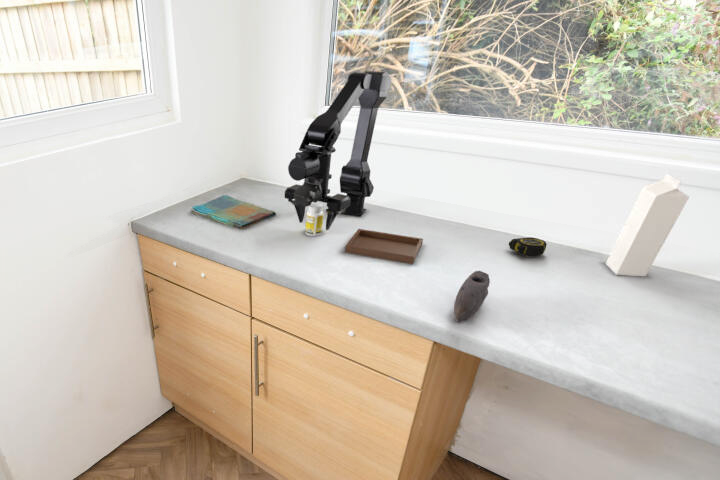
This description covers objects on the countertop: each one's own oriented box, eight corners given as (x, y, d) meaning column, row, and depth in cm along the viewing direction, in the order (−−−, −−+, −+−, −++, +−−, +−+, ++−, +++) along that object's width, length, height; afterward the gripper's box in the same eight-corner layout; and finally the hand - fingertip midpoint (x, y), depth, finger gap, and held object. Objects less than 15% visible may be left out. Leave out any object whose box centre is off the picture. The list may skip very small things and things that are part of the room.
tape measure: (531, 247, 125) (536, 234, 123) (548, 258, 119) (554, 245, 117) (506, 249, 125) (510, 236, 123) (522, 260, 119) (527, 247, 117)
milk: (615, 275, 111) (663, 181, 98) (605, 263, 116) (649, 172, 103) (646, 276, 110) (698, 181, 97) (634, 265, 115) (682, 173, 102)
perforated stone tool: (468, 331, 95) (478, 302, 91) (441, 323, 98) (449, 294, 94) (487, 300, 104) (497, 272, 100) (462, 294, 107) (471, 266, 103)
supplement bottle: (320, 229, 141) (323, 202, 136) (322, 236, 137) (325, 208, 133) (304, 230, 142) (306, 202, 137) (305, 236, 138) (307, 208, 133)
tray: (357, 235, 137) (358, 228, 135) (421, 245, 129) (423, 238, 128) (344, 252, 128) (345, 245, 127) (412, 264, 120) (414, 256, 119)
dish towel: (226, 200, 167) (225, 193, 165) (277, 215, 152) (277, 208, 151) (189, 213, 157) (189, 206, 156) (240, 231, 143) (240, 223, 141)
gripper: (273, 172, 130) (271, 226, 139) (331, 185, 119) (325, 242, 128) (297, 163, 137) (294, 216, 146) (355, 175, 125) (347, 230, 134)
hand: (313, 226), depth 138 cm, fingers open, 9 cm apart
